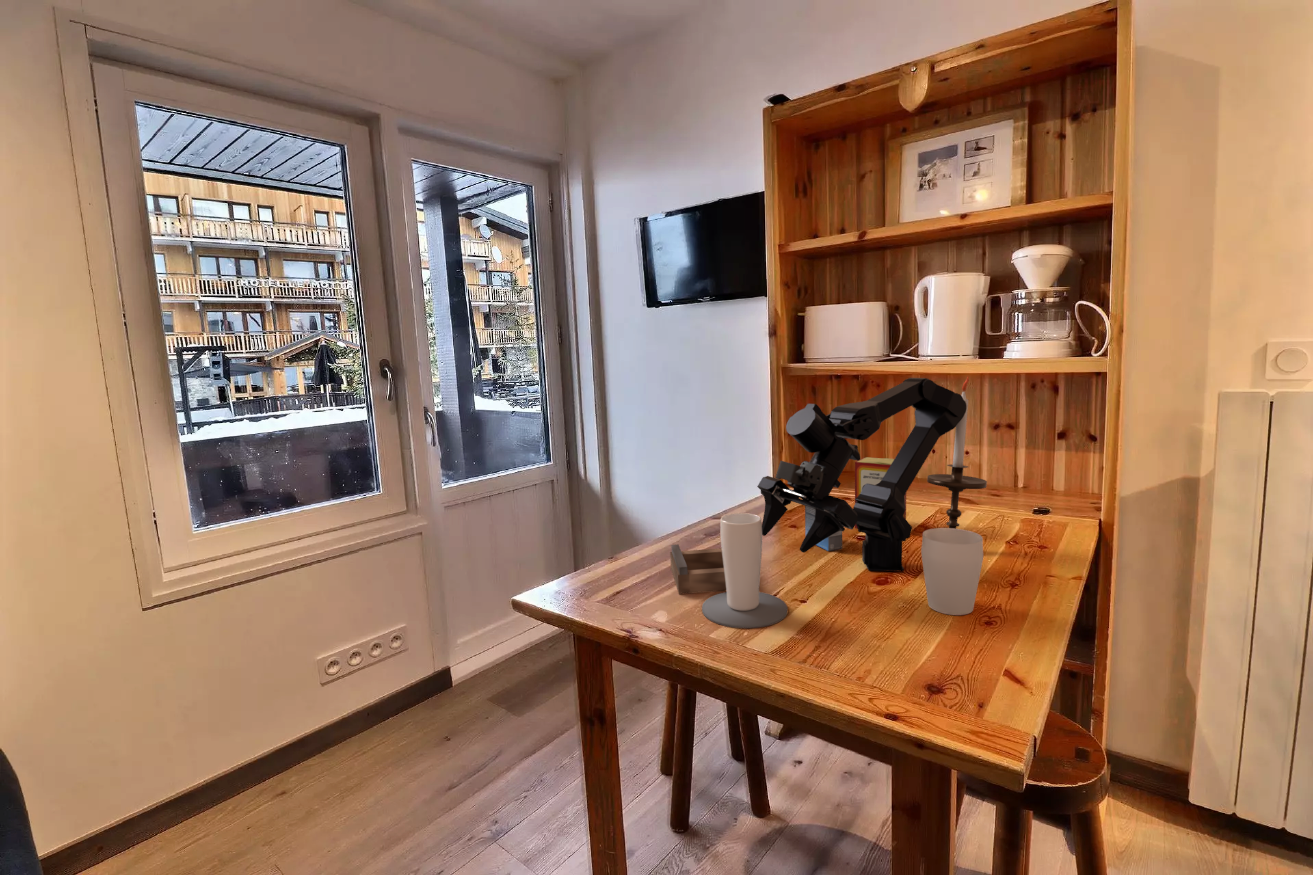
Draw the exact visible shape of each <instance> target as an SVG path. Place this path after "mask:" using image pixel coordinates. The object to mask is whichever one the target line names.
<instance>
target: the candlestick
mask: <svg viewBox="0 0 1313 875" xmlns="http://www.w3.org/2000/svg"><path fill="white" fill-rule="evenodd" d="M969 382H970V379H969V376H967V377H966V379H965V381H964V382H963V384H962V387H961V391H962V392H961V394H960V395H961V396H962V397H963V400H964V401H965V402H966V405H967V409H966V413H965V414H964V417H963V418H962V419H961V421H960V422H959V423H958V424H957V426H956V427H955V430H954V431H955V433H954V445H953V446H954V447H953V457H952V464H946V466H947V467H951V474H948V473H945V474H944V473H936V474H934V473H933V474H928V475H927V479H926V481H927V483H928V484H931V485H934V486H940V487H944V488H947V490H948V491H951V499H950V508H948V509H947V510H946V511H945V513H946V515H947V516H948V517H949V518H948V521H946V526H948V528H955V529H957V527H960V523H958V518H960V517H961V515H962V511H961V510H960V509H959V501H960V500H959V499H960V493H961V492H963V491H964V490H981V489H986V488H987V486H988V481H987V480H985V479H983V478H980V477H974V476H967V475H963V473H964V468H965V469H966V468H967V469H968V468H969V466H967V465H964V456H965V447H966V446H965V445H966V434H967V433H966V432H967V422H968V421H967V420H968V410H969V409H968V408H969V399H968V398H967V396H966V390H967V387H968V383H969Z"/></svg>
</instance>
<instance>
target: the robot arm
mask: <svg viewBox="0 0 1313 875" xmlns="http://www.w3.org/2000/svg"><path fill="white" fill-rule="evenodd" d="M961 395H962V394H960V393H957V392H954V391H953V390H951V389H949V388H946V387H943V386H941V385H939V384H937V383H936V382H935V381H933V380H931V379H929V378H926V377H908V378H906V379H904V380H903V381H902V382H901V383H899V384H897V385H895V386H893V387H890V388H888V389H887V390H885V391H882V392H881V393H878V394H876V395H875V396H873V397H871V398H869V399H868V400H864V401H857V402H850V403H845V404H842V405H838V406H837V405H836V406H835V407H834V408H833V409H832V410H831V411H830V413H829V414H825V413H824V412H823V411H822V409H821V407H820V406H819V405H818V404H816V403H806V406H805V407H804V408H802V409H800V410H798V411H796V412H795V413H794V414H793V415H792V416H790V417H789V418H788V421H787V423H786V428H785V430H786V432H787V433H788V434H789V435H790V436H791V437H792V438H793V439H794V440H795V441H796V442H797V443H798V444H799V446H801V447H802V448H803V449H804V450H805V451H806V452H808V453H811V454H813V455H812V457H811V458H810V460H809V461H807V460H803V461H802V462H801V463H800V465H797V464H794V463H790V462H788V461H783V460H780V461H779V464H778V468H777V470H776V475H775V477H772V476H771V475H770V476H769V475H765V476H762V478H761V480H760V481H759V483H758V484H757V485H756V486H757V487H756V488H758V489H759V490H760V494H761V496H763V498H764V513H763V517H762V521H761V522H762V537H765V536H767V535H768V534H769V532H771V530H772V529H773V528H774V527H775V526H776V525H777V523H778V522H779V521H780V519H781V518H782V517H783V516H784V515H785V513H786V512H787V511H788V510H789V508H788V507H787V506H788V505H790V504H792V502H793V503H797V504H799V505H802V506H804V507H805V506H807V507H810V508H813V509H816V510H815V520H814V522H813V524H812V526H811V528H810V529H809V531H808V533H807V535H806V537H805V536H804V538H803V540H802V543H801V545H800V547H799V551H801V553H804V554H805V553H807V551H809V550H811V549H812V548H813V547H815V546H817V545H816V544H818V543H819V542H821V541H822V540H824V539H826V538H827V537H829V536H831V535H833V534H835V533H837V532H838V531H842V532H845V530H846V529H849V530H851V531H852V530H853V529H854V528H855V524H856V525H857V528H858V529H857V528H856V529H857V531H858V532H859V533H864V534H865V535H864V537H865V539H863V540H862V542H861V543H862V544H861V545H862V546H861V547H862V550H861V553H862V554H861V560H862V562H863V564H864V565H865V566H866V568H867V571H871V572H874V571H875V572H904V571H905V567H904V566H903V542H905V541H907V539H910V538H911V533H912V530H913V526H912V525H911V524H910V522H908V520H907V518H906V519H905V518H904V517H903V515H904V512H905V499H904V496H905V494H906V495H907V491H908V490H909V489H910V487H911V485H912V484H913V482H914V481H915V479H916V476H917V475H918V473H919V472H920V471H921V468H922V467H923V465H924V464H925V462H926V460H927V458H928V457H929V455H930V454H931V452H932V450H933V449H934V447H935V445H936V444H937V442H938V440H939V438H941V437H942V436H943V435H945V434H947V433H949V432H951V431H952V430H954V429H956V426H957V424H958V423H959V422H960V421H961V419H962V418H963V417H964V414H965V413H966V409H967V405H966V402H965V401H964V400H963V397H962V396H961ZM910 407H912V408H913V409H914V419H915V420H914V421H915V425H914V427H913V428H912V430H911V432H909V434H908V437H907V438H906V439H905V441H904V443H903V445H902V446H901V448H900V449H899V451H898V453H897V455H896V456H895V457H894V458H893V459H894V461H893V462H892V464H891V466H890V467H889V469H888V470H887V472H886V474H885V475H884V477H883V479H882V480H881V481H880V482H879V483H878V484H876V485H872V484H866V485H865V486H864V487H863V489H862V491H861V493H860V495H859V496H858V497H857V498H856V499H855V498H854V506H853V507H852V506H851V505H850V504H849V503H848V502H847V501H846V500H845V499H842V498H839V497H835V496H833V495H830V493H831V492H832V490H833V488H837V489H839V487H841V484H842V482H840V481H839V478H840V476H841V475H842V473H843V471H844V469H845V468H846V466H847V465H848V463H849V461H850V460H853V461H859V460H860V459H861V454H860V452H859V449H858V448H859V447H858V446H859V445H857V444H852V443H850V442H849V441H848V440H847V439H851V440H858V441H865V440H868V439H870V437H871V436H873V434H875V433H877V432H878V431H879V430H880V428H881V424H882V423H883V422H884V421H885V420H887V419H889V418H891V417H893V416H895V415H897V414H899V413H900V412H902V411H904V410H906V409H908V408H910ZM782 480H784V481H787V483H786V484H785V482H784V481H782ZM788 486H789V487H791V488H793V489H791V488H789V487H788ZM855 501H857V502H856V503H855Z"/></svg>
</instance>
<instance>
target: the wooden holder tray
mask: <svg viewBox="0 0 1313 875" xmlns="http://www.w3.org/2000/svg"><path fill="white" fill-rule="evenodd" d="M669 554H670V555H669V556H670V558H669V559H670V571H671V575H672V576H673V577H672V578H673V580H674V583H675V585H676V589H677V593H678V595H681V594H682V593H684V594H692V593H693V594H696V593H697V594H698V593H707V592H708V593H710V592H721V591H724V592H725V591H726V583H725V574H724V566H723V558H722V549H721V548H707V549H690V550H681V547H680V544H671V551H670V552H669Z"/></svg>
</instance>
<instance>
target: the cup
mask: <svg viewBox="0 0 1313 875" xmlns="http://www.w3.org/2000/svg"><path fill="white" fill-rule="evenodd" d="M983 540H984V539H983V536H982V535H981V534H979V533H978V532H974V531H972V530H968V529H962V528H961V529H960V528H956V529H955V528H949V527H936V528H935V527H934V528H929V529H926V530H924V531H923V532H922V541H921V550H920V551H921V553H920V554H921V560H922V567H923V568H922V569H923V576H924V583H925V589H926V597H927V605H928V606H929V607H930V608H931V609H932V610H933V611H936V612H937V613H941V614H943V615H950V616H965V615H968V614H971V613H972V612H973V611H974V608H975V602H976V598H977V597H976V596H977V592H978V586H979V581H980V576H981V571H982V566H983V562H984V548H983V547H984V543H983V542H984V541H983Z"/></svg>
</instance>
